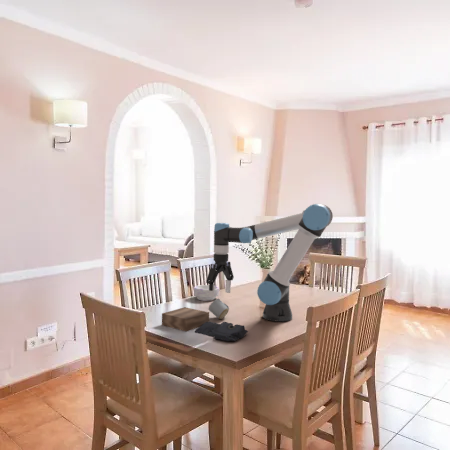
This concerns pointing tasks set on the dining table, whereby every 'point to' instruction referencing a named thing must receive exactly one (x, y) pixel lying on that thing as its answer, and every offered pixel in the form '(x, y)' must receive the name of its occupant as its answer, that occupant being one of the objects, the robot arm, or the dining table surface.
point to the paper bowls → (205, 292)
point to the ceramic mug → (219, 308)
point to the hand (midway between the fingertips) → (220, 294)
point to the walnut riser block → (185, 318)
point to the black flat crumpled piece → (222, 330)
